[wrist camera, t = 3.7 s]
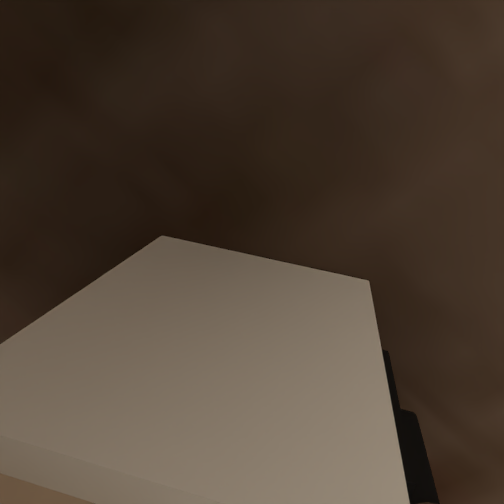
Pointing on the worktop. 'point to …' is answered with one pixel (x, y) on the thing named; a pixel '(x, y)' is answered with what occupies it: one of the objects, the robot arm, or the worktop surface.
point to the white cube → (201, 388)
